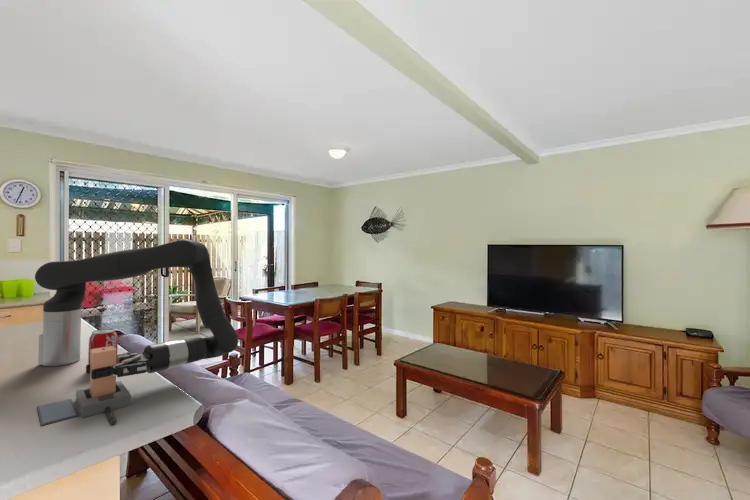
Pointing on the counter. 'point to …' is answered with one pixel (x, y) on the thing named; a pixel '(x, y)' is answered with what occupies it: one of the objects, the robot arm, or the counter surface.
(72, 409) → the phone
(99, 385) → the block
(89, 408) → the power strip
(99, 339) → the soda can
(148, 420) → the counter surface
